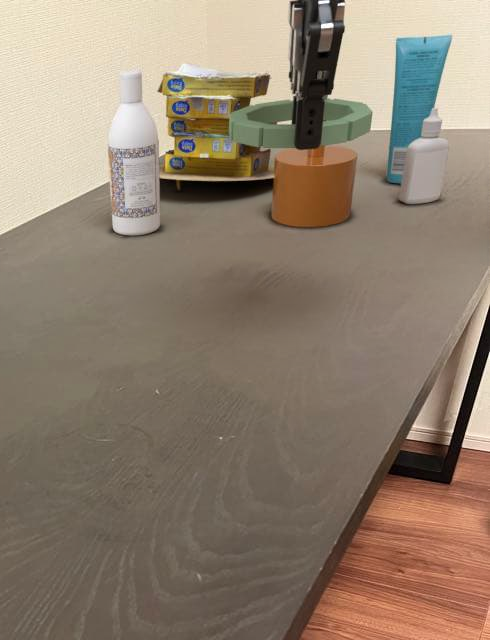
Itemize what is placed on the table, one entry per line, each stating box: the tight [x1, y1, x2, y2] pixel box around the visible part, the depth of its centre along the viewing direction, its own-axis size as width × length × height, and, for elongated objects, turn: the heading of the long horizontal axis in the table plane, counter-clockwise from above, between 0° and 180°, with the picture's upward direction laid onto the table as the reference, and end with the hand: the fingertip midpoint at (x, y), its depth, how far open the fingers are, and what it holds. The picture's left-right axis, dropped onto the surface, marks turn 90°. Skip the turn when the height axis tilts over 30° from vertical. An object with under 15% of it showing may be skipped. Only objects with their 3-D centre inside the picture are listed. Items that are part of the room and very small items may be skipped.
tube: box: [385, 34, 453, 185], centre depth 117 cm, size 7×5×19 cm, turn 85°
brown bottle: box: [270, 120, 358, 228], centre depth 110 cm, size 11×11×13 cm
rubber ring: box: [229, 97, 373, 149], centre depth 74 cm, size 13×13×2 cm
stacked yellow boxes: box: [156, 62, 278, 192], centre depth 126 cm, size 25×25×17 cm
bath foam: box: [107, 69, 161, 236], centre depth 109 cm, size 7×7×20 cm
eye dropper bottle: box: [398, 107, 450, 205], centre depth 111 cm, size 4×6×12 cm
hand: (305, 144), depth 70 cm, fingers closed on rubber ring, 2 cm apart
